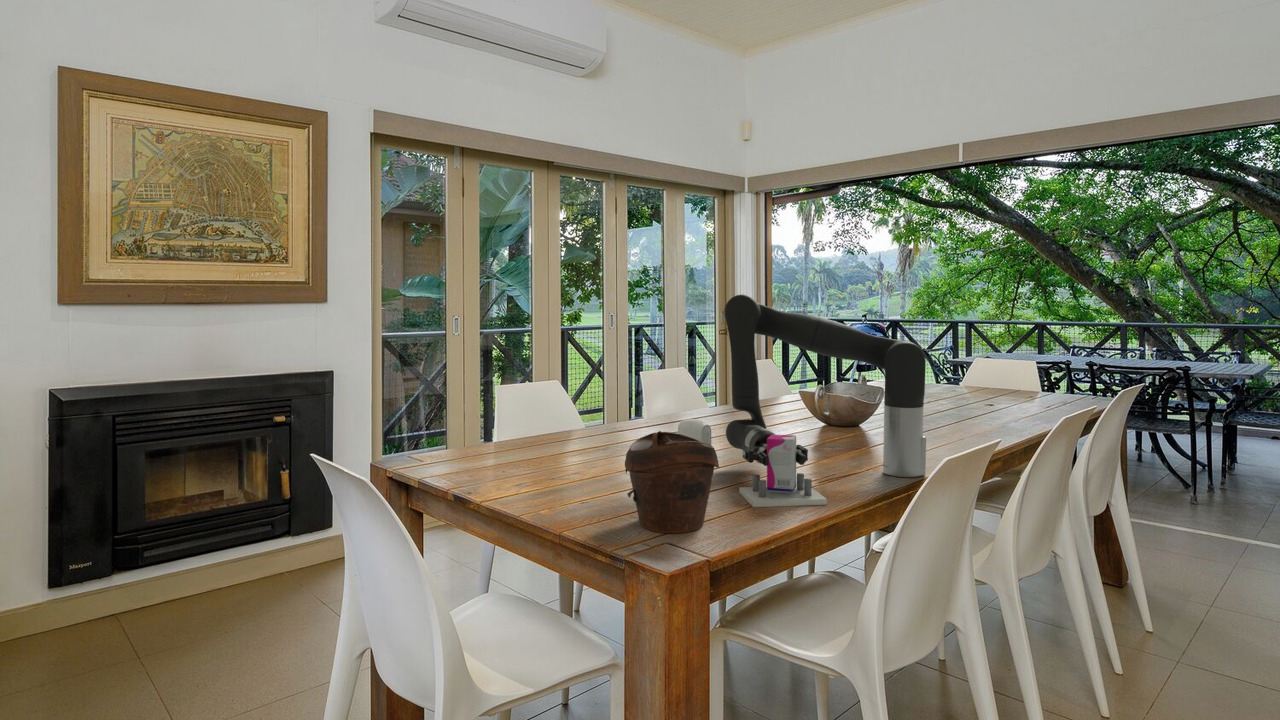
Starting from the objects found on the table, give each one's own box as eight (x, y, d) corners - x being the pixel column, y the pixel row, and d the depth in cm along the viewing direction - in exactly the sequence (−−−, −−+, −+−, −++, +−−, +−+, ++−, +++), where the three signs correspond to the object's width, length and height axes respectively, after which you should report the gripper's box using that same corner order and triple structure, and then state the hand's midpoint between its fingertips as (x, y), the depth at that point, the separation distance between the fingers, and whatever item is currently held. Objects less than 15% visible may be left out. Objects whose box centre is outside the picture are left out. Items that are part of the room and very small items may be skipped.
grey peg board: (807, 490, 166) (808, 470, 165) (826, 504, 154) (827, 482, 154) (739, 492, 164) (739, 472, 164) (753, 507, 152) (753, 485, 152)
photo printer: (675, 463, 195) (675, 418, 194) (687, 461, 198) (687, 416, 197) (702, 470, 187) (702, 422, 186) (714, 467, 190) (714, 420, 189)
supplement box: (796, 485, 161) (797, 434, 160) (793, 492, 155) (793, 439, 154) (770, 483, 163) (770, 433, 162) (766, 490, 157) (766, 438, 156)
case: (658, 503, 155) (657, 421, 153) (738, 521, 142) (738, 431, 140) (601, 525, 141) (600, 434, 139) (685, 547, 128) (684, 447, 127)
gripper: (734, 430, 171) (752, 444, 155) (793, 429, 173) (817, 442, 157) (734, 461, 172) (752, 478, 156) (792, 460, 174) (816, 476, 157)
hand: (784, 460), depth 156 cm, fingers closed on supplement box, 7 cm apart
